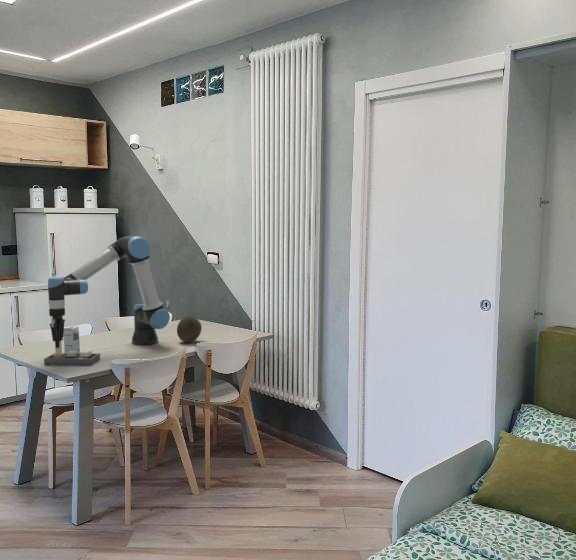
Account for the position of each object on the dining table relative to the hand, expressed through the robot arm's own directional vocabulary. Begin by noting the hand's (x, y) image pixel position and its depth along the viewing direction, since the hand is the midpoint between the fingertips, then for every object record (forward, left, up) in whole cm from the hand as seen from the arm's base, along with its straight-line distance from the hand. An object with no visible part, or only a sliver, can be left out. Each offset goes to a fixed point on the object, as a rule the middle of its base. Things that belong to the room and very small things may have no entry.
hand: (58, 353), depth 302 cm
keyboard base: (-7, 0, -5) cm, 8 cm away
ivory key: (-14, 0, -1) cm, 14 cm away
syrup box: (+1, -19, -5) cm, 20 cm away
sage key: (-7, 0, -1) cm, 7 cm away
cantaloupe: (-57, -50, -5) cm, 76 cm away
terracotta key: (0, 0, -2) cm, 2 cm away
